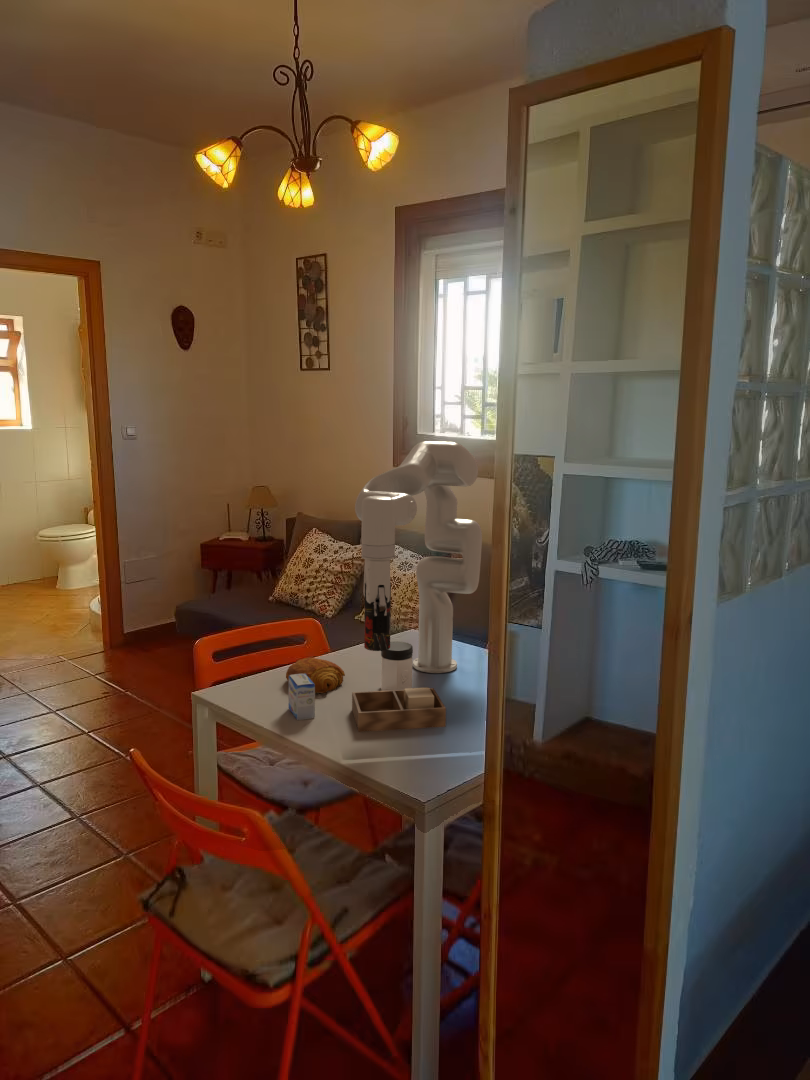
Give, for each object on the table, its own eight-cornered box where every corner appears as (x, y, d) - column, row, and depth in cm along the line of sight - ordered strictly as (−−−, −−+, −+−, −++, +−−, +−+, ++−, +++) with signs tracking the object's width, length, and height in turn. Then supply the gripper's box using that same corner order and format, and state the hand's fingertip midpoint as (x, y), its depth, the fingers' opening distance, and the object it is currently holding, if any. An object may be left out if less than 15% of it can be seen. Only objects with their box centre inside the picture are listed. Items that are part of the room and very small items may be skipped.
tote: (358, 734, 177) (358, 713, 176) (352, 712, 190) (352, 692, 189) (445, 728, 181) (445, 708, 180) (433, 707, 193) (433, 688, 193)
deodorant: (393, 649, 180) (393, 585, 177) (367, 651, 178) (368, 587, 175) (386, 642, 185) (387, 579, 183) (361, 644, 183) (361, 581, 181)
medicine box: (288, 708, 191) (287, 674, 190) (306, 706, 193) (305, 672, 192) (297, 720, 184) (296, 685, 183) (315, 718, 186) (315, 683, 185)
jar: (390, 698, 199) (390, 652, 197) (373, 688, 206) (373, 644, 204) (419, 692, 204) (420, 647, 202) (402, 682, 211) (402, 639, 209)
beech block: (403, 712, 189) (404, 688, 188) (428, 711, 190) (428, 687, 189) (408, 722, 183) (408, 697, 182) (433, 720, 184) (434, 696, 183)
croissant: (305, 706, 199) (306, 678, 196) (277, 680, 211) (278, 653, 208) (354, 694, 207) (355, 666, 205) (325, 669, 219) (326, 643, 217)
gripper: (356, 544, 185) (356, 619, 188) (366, 559, 169) (366, 640, 172) (388, 544, 187) (387, 617, 190) (401, 558, 170) (400, 639, 173)
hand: (377, 627), depth 181 cm, fingers closed on deodorant, 5 cm apart
